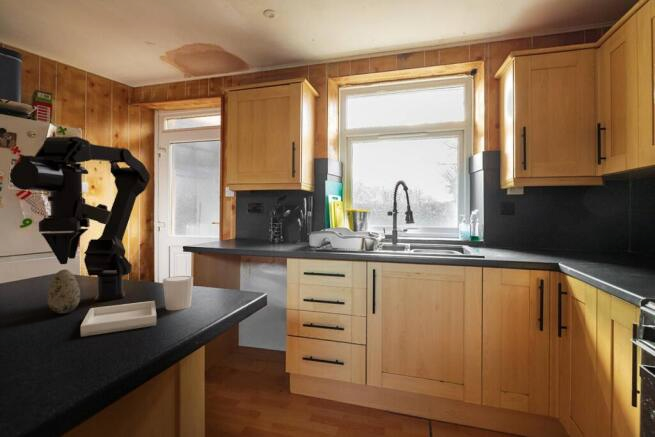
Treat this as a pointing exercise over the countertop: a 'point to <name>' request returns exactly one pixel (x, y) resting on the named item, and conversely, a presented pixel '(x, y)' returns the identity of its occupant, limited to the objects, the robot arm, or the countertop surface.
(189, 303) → the white cup
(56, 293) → the decorative egg
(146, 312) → the tray
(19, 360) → the countertop surface
